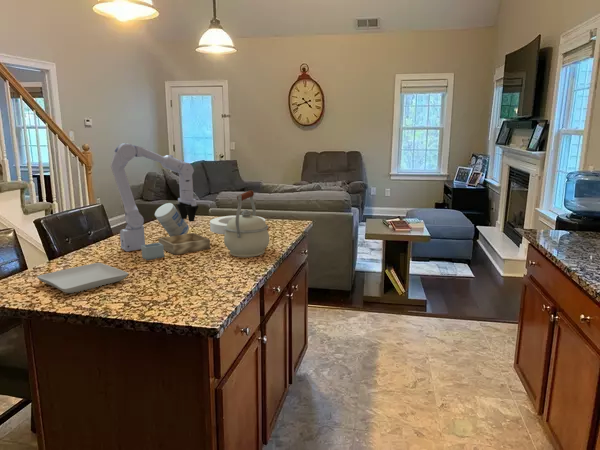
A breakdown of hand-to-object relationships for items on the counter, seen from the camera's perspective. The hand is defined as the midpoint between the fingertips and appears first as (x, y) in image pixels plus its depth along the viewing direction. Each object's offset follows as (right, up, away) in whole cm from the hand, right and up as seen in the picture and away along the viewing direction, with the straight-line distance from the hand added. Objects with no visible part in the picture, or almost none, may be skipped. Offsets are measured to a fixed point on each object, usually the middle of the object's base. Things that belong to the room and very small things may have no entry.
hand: (187, 220), depth 199 cm
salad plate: (-21, -22, -53) cm, 61 cm away
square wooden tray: (+1, -12, -9) cm, 15 cm away
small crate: (-8, -15, -23) cm, 29 cm away
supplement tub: (-5, -6, +7) cm, 11 cm away
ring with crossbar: (+18, -5, +29) cm, 35 cm away
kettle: (+29, -13, -16) cm, 35 cm away
